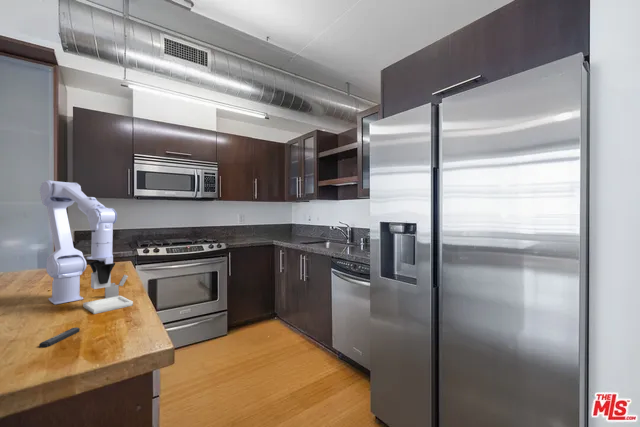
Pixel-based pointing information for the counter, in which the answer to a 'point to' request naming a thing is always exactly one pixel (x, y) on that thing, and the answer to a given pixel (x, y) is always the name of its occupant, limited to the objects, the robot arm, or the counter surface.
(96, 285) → the plug
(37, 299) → the counter surface
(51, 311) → the counter surface
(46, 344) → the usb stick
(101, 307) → the dish
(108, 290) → the lighter
